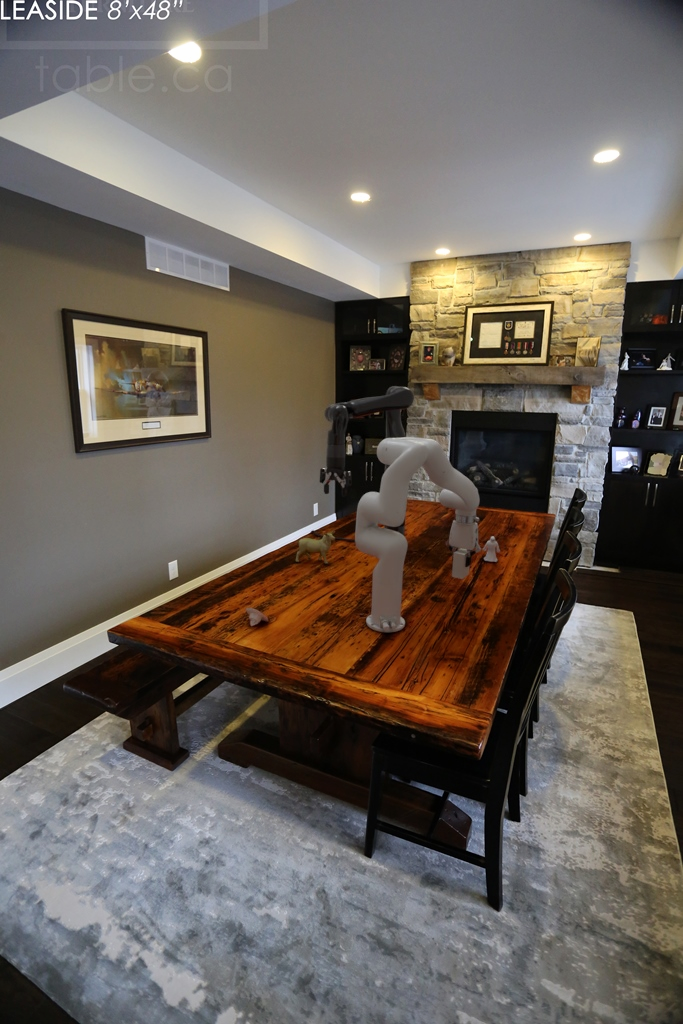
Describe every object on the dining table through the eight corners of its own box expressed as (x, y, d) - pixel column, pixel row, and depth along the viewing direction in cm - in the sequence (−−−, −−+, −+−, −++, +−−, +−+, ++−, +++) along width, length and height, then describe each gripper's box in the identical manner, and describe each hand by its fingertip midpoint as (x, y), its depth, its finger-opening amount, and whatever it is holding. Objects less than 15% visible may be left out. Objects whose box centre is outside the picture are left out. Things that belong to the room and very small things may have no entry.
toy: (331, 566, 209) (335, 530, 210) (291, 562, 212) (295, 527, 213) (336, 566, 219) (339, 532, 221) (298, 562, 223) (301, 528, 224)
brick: (468, 574, 194) (471, 550, 192) (462, 579, 189) (464, 554, 186) (458, 571, 197) (460, 548, 194) (451, 576, 191) (453, 552, 189)
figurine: (481, 562, 222) (483, 536, 219) (482, 556, 230) (484, 531, 227) (499, 564, 220) (501, 538, 217) (499, 558, 228) (501, 533, 225)
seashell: (251, 634, 162) (235, 615, 161) (262, 623, 165) (246, 604, 164) (262, 630, 156) (245, 610, 155) (273, 618, 159) (257, 599, 158)
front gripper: (490, 520, 186) (486, 566, 190) (448, 513, 195) (444, 557, 199) (483, 524, 180) (479, 572, 184) (440, 517, 189) (436, 562, 193)
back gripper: (355, 456, 200) (354, 495, 204) (326, 453, 207) (326, 491, 211) (345, 458, 194) (344, 499, 197) (316, 454, 201) (315, 494, 205)
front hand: (461, 564), depth 192 cm, fingers closed on brick, 4 cm apart
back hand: (335, 495), depth 204 cm, fingers open, 8 cm apart
